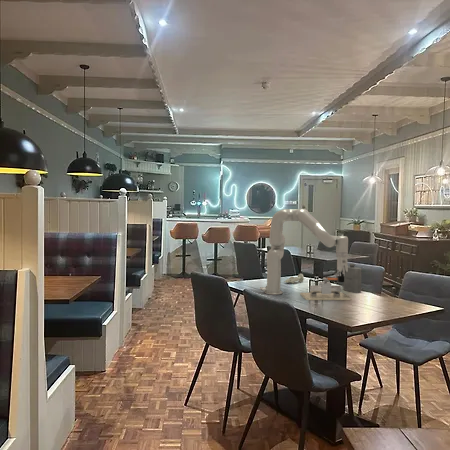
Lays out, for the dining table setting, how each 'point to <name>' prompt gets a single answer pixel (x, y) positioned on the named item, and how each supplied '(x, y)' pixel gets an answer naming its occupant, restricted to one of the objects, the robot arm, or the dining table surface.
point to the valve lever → (332, 279)
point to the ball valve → (325, 292)
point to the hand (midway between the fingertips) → (341, 281)
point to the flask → (352, 279)
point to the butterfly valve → (293, 279)
